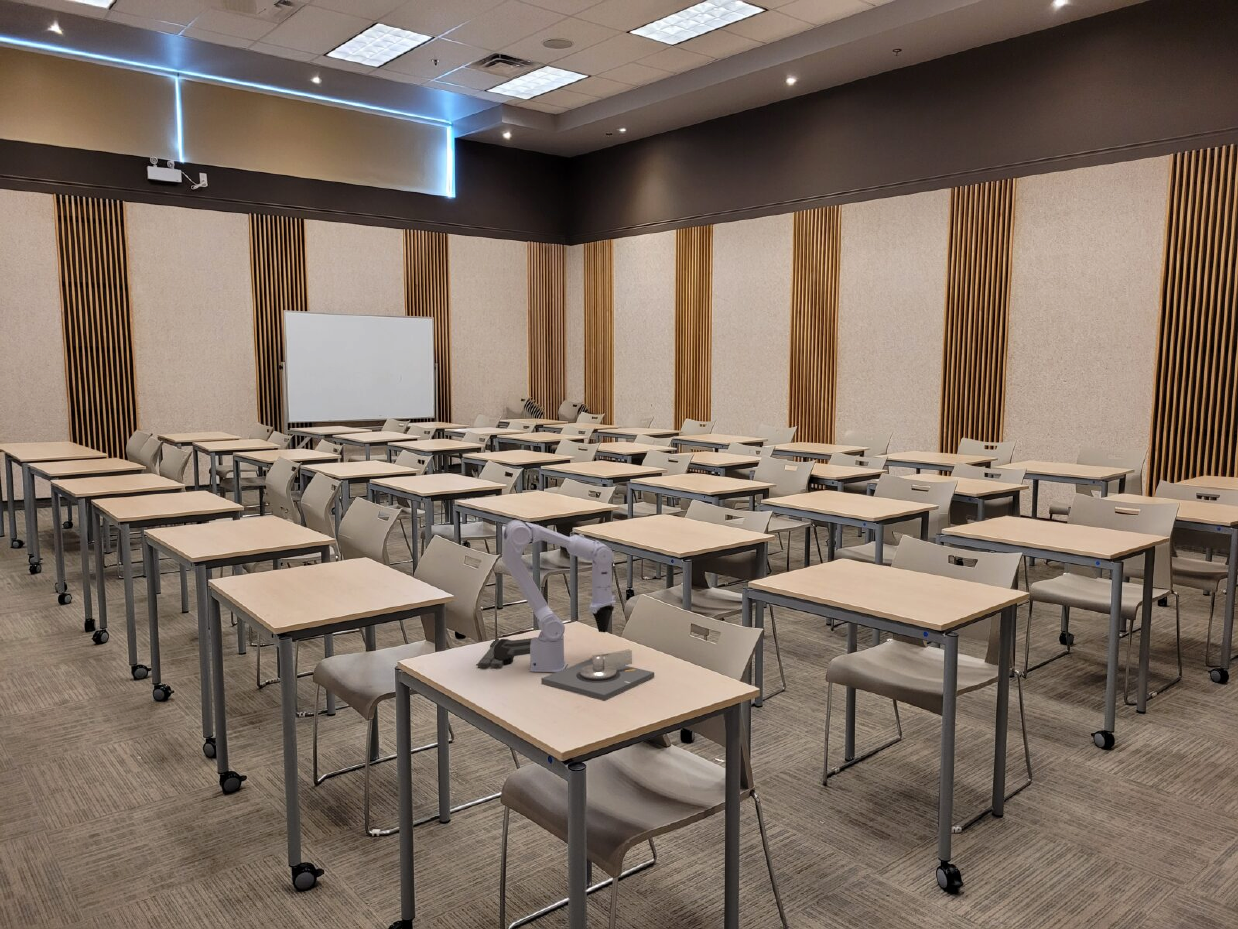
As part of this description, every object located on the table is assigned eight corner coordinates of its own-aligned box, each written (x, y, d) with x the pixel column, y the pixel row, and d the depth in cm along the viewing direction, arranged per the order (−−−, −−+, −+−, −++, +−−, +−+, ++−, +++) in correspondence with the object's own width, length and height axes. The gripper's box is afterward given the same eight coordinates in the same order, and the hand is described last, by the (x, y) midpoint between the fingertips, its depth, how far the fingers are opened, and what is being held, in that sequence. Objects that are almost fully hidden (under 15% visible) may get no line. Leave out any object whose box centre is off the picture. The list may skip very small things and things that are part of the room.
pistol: (543, 638, 276) (496, 637, 277) (526, 664, 250) (474, 662, 252) (543, 645, 276) (496, 644, 278) (526, 671, 251) (474, 670, 252)
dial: (591, 682, 234) (591, 664, 234) (573, 672, 242) (573, 654, 242) (640, 671, 242) (640, 654, 242) (621, 662, 250) (621, 645, 250)
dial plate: (541, 683, 239) (541, 677, 239) (592, 662, 256) (592, 657, 256) (604, 700, 226) (604, 694, 225) (654, 677, 243) (654, 672, 243)
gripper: (605, 592, 246) (605, 639, 247) (624, 581, 259) (624, 626, 260) (582, 590, 248) (582, 637, 249) (602, 579, 262) (602, 624, 263)
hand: (602, 631), depth 255 cm, fingers closed
